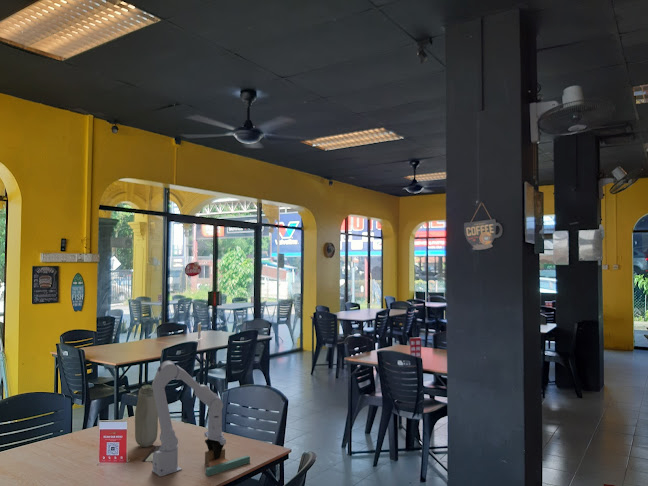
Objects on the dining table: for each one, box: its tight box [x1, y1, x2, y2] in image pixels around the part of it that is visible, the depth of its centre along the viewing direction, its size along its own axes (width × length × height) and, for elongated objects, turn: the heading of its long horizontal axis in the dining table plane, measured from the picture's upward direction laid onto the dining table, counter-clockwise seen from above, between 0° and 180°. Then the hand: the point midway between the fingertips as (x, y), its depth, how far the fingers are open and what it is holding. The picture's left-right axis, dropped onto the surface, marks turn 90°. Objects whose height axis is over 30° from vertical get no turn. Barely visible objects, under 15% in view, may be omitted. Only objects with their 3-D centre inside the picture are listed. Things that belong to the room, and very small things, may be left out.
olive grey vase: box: [134, 384, 159, 448], centre depth 232 cm, size 10×10×28 cm
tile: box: [208, 457, 230, 467], centre depth 207 cm, size 7×7×2 cm
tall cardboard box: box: [204, 447, 226, 467], centre depth 211 cm, size 8×3×5 cm, turn 133°
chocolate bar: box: [141, 445, 161, 463], centre depth 222 cm, size 9×1×18 cm
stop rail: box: [205, 455, 251, 477], centre depth 205 cm, size 20×2×2 cm, turn 133°
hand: (214, 457), depth 211 cm, fingers open, 3 cm apart
